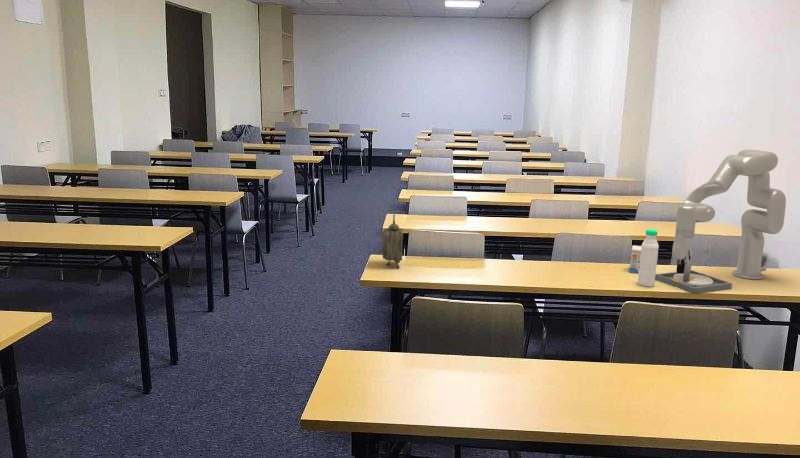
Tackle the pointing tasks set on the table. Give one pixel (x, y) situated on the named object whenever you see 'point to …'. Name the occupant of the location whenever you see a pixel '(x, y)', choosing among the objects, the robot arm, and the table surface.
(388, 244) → the ribbed lidded container
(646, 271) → the water bottle
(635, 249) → the ink box
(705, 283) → the dial
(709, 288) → the gray square tray
